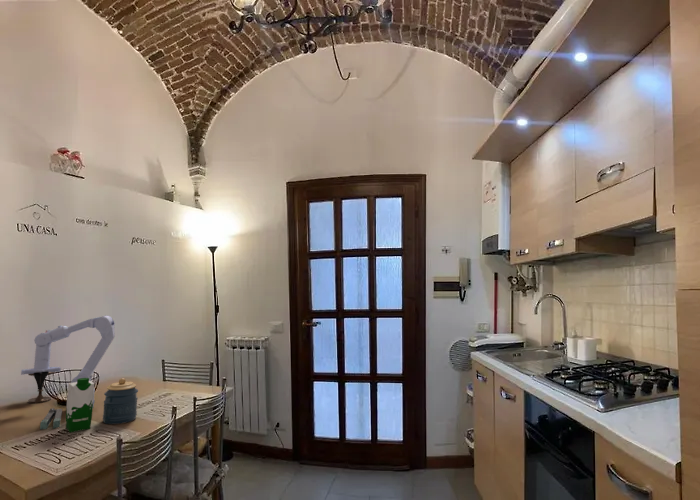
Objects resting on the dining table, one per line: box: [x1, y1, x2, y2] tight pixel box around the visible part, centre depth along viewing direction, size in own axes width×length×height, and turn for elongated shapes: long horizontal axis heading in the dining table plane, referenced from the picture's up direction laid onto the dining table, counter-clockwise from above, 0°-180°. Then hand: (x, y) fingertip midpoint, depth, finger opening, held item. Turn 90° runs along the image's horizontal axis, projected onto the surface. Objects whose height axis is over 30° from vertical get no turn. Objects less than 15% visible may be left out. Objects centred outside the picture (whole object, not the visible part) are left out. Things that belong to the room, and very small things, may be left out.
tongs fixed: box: [48, 407, 63, 429], centre depth 173 cm, size 5×20×3 cm, turn 33°
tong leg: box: [39, 411, 55, 430], centre depth 171 cm, size 2×16×3 cm, turn 27°
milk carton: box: [65, 378, 95, 433], centre depth 166 cm, size 9×9×20 cm
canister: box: [102, 377, 139, 425], centre depth 178 cm, size 13×13×18 cm
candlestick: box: [27, 330, 56, 404], centre depth 205 cm, size 11×11×35 cm
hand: (39, 388), depth 188 cm, fingers closed
